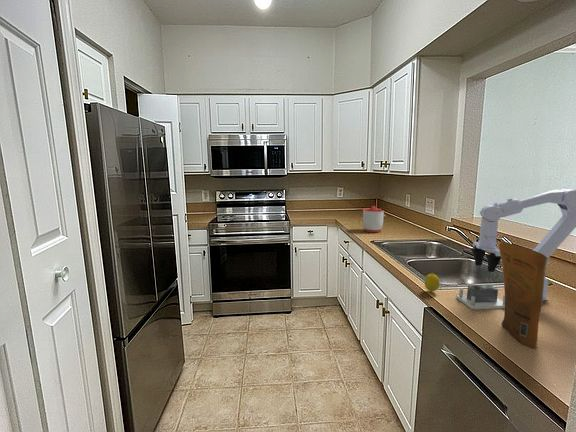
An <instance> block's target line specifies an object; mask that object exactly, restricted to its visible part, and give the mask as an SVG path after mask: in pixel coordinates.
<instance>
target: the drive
mask: <svg viewBox="0 0 576 432" xmlns="http://www.w3.org/2000/svg"><path fill="white" fill-rule="evenodd" d="M498 294H499V289H498V288H497V287H495V286H493V285H487V284H486V285H467V292H466V295H467V299H469V300H470V301H471V297H472V296H474V297H475V303H480V302H497V298H498V296H499V295H498Z"/></svg>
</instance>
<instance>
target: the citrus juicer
mask: <svg viewBox="0 0 576 432" xmlns="http://www.w3.org/2000/svg"><path fill="white" fill-rule="evenodd" d="M362 211H363V213H362V224H363V225H362V226H363V229H364V232H366V233H378V232H379V233H380V232H381V231H382V229H383V226H384V225H383V224H384V217H386V216H387V215H386V214H385V209H384V210H383V209H382V208H377V207H376V205H372V206H371V207H367V208H363V209H362Z"/></svg>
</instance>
